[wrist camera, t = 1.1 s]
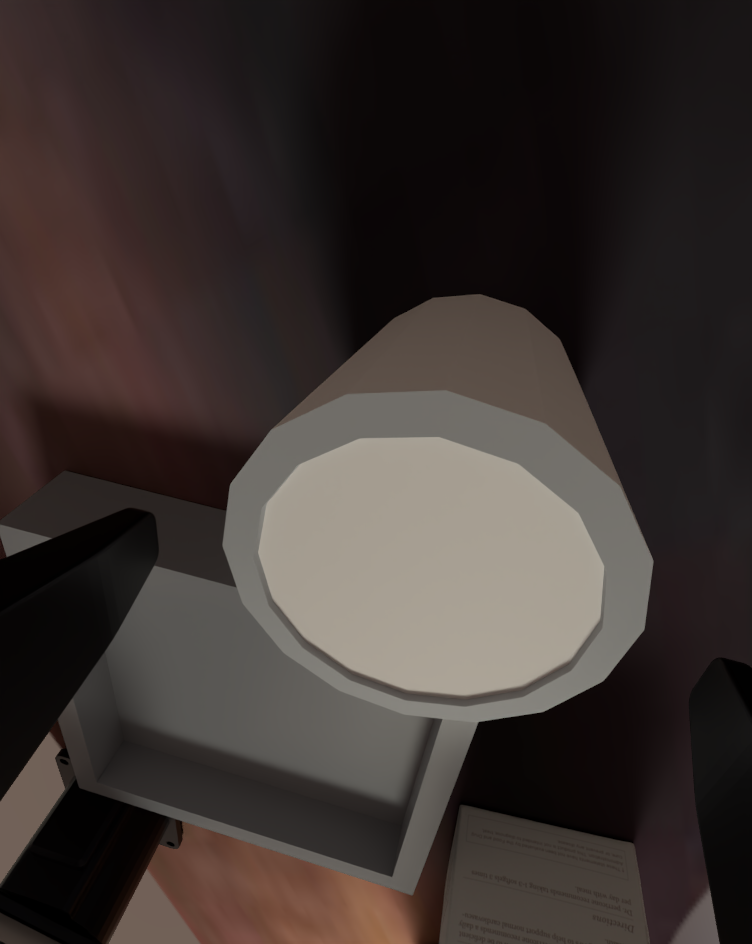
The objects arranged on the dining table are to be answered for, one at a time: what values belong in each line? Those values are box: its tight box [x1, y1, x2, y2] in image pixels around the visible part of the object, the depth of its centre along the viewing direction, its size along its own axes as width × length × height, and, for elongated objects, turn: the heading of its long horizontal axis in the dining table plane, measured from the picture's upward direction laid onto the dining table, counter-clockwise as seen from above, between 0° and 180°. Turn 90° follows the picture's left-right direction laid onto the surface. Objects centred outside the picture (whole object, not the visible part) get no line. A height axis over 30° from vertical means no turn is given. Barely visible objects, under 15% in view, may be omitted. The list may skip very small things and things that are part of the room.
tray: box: [0, 470, 478, 896], centre depth 22 cm, size 15×15×3 cm
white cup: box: [222, 294, 653, 722], centre depth 12 cm, size 7×7×7 cm
